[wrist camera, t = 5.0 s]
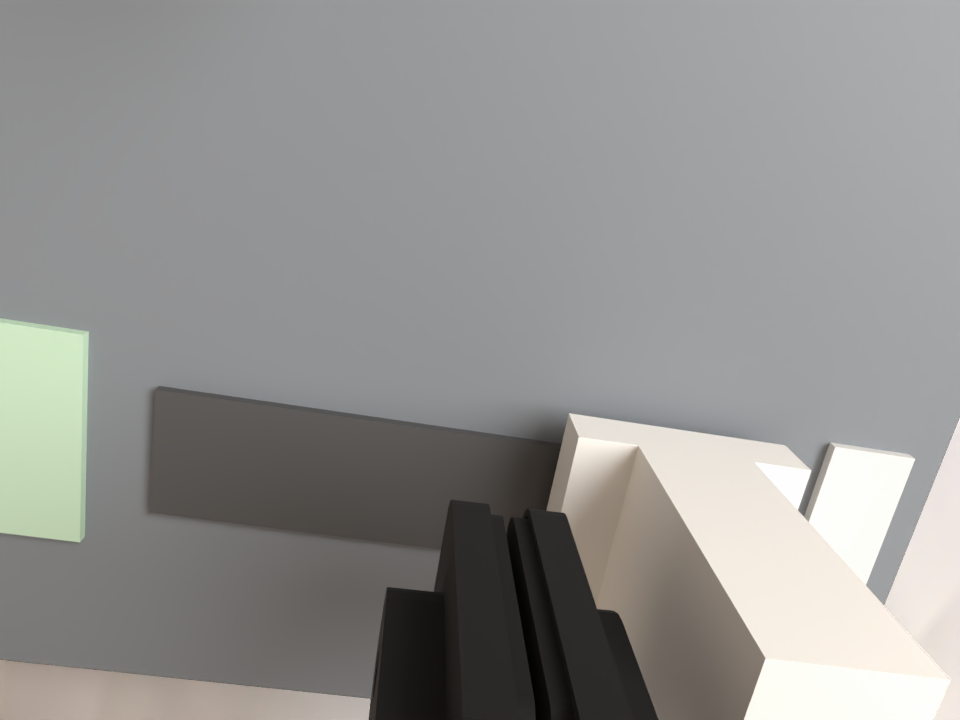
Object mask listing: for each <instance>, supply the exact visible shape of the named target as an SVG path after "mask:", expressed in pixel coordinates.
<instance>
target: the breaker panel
mask: <svg viewBox="0 0 960 720" xmlns="http://www.w3.org/2000/svg"><path fill="white" fill-rule="evenodd" d="M569 413H571V414H578V415H584V416H591V417H598V418H605V419H611V420H618V421H625V422H632V423H638V424H645V425H652V426H659V427H665V428H672V429H679V430H686V431H692V432H699V433H706V434H713V435H719V436H726V437H733V438H740V439H746V440H753V441H760V442H767V443H773V444H780V445H785V446H786V447H787V448H789V449H790V450H791V451H792V452H793V453H794V454H795V455H796V456H797V457H798V458H799V459H800V460H801V461H802V462H803V463H804V464H805V465H806V466H807V467H808V468H809V469H810V470H811V473H810V476H809V479H808V482H807V485H806V488H805V491H804V493H803V496H802V499H801V502H800V505H799V508H798V511H799V512H800V513H801V514H802V515H803V516H804V517H805V519H806V520H807V521H808V522H809V523H810V524H811V525H812V526H813V527H814V529H815V530H816V531H817V532H818V533H819V534H820V535H821V536H822V537H823V538H824V540H825V541H826V542H827V543H828V544H829V545H830V546H831V547H832V548H833V550H834V551H835V552H836V553H837V554H838V555H839V556H840V557H841V558H842V560H843V561H844V562H845V563H846V564H847V565H848V566H849V567H850V568H851V570H852V571H853V572H854V573H855V574H856V575H857V576H858V577H859V578H860V579H861V581H862V582H863V583H864V584H865V585H866V586H867V587H868V588H869V589H870V591H871V592H872V593H873V594H874V595H875V596H876V597H877V598H878V599H879V601H880V602H881V603H882V604H883V605H884V604H885V602H886V599H887V597H888V594H889V592H890V589H891V587H892V584H893V582H894V579H895V577H896V574H897V572H898V569H899V567H900V564H901V562H902V560H903V557H904V555H905V552H906V550H907V547H908V545H909V542H910V540H911V537H912V535H913V532H914V530H915V527H916V525H917V522H918V520H919V517H920V515H921V512H922V510H923V507H924V505H925V502H926V500H927V497H928V495H929V493H930V490H931V488H932V485H933V483H934V480H935V478H936V475H937V473H938V470H939V468H940V465H941V463H942V460H943V458H944V455H945V453H946V450H947V448H948V445H949V443H950V440H951V438H952V435H953V433H954V430H955V428H956V426H957V423H958V421H959V418H960V0H0V660H8V661H18V662H27V663H37V664H46V665H56V666H65V667H75V668H84V669H94V670H103V671H113V672H122V673H132V674H141V675H151V676H160V677H170V678H179V679H189V680H199V681H208V682H218V683H227V684H237V685H246V686H256V687H265V688H275V689H284V690H294V691H303V692H313V693H322V694H332V695H341V696H351V697H360V698H370V699H371V694H372V686H373V677H374V669H375V662H376V654H377V647H378V640H379V633H380V626H381V620H382V613H383V606H384V600H385V594H386V589H387V587H392V588H402V589H412V590H421V591H431V592H434V586H435V581H436V575H437V569H438V563H439V558H440V552H441V546H442V541H443V535H444V529H445V523H446V518H447V512H448V507H449V503H450V501H451V499H452V500H460V501H469V502H477V503H486V504H489V506H490V511H491V514H493V515H501V516H503V519H504V525H505V531H506V533H507V528H508V524H509V521H510V518H511V517H517V518H523V514H524V512H525V510H526V509H535V510H544V511H546V510H547V506H548V501H549V497H550V492H551V488H552V484H553V479H554V475H555V471H556V466H557V462H558V458H559V453H560V449H561V445H562V440H563V436H564V432H565V427H566V423H567V419H568V414H569Z"/></svg>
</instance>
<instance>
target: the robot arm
mask: <svg viewBox="0 0 960 720" xmlns="http://www.w3.org/2000/svg"><path fill="white" fill-rule="evenodd" d="M369 720H659V719H658V717H657V714H656V711H655V709H654V706H653V703H652V700H651V698H650V695H649V692H648V690H647V687H646V684H645V681H644V679H643V676H642V673H641V671H640V668H639V665H638V662H637V660H636V657H635V654H634V652H633V649H632V646H631V643H630V641H629V638H628V635H627V633H626V630H625V627H624V624H623V622H622V620H621V618H620V616H619V614H618V613H617V612H615V611H612V610H602V609H597V607H596V604H595V601H594V598H593V595H592V592H591V589H590V586H589V583H588V580H587V577H586V574H585V570H584V567H583V564H582V561H581V558H580V555H579V552H578V549H577V546H576V543H575V540H574V537H573V534H572V531H571V528H570V525H569V522H568V519H567V516H566V514H565V513H561V512H552V511H544V510H535V509H526V510H525V512H524V514H523V518H517V517H511V518H510V521H509V524H508V528H507V533H506V531H505V525H504V519H503V516H501V515H493V514H491V511H490V506H489V504H486V503H477V502H469V501H460V500H452V499H451V501H450V503H449V507H448V512H447V518H446V523H445V529H444V535H443V541H442V546H441V552H440V558H439V563H438V569H437V575H436V581H435V586H434V592H431V591H421V590H412V589H402V588H392V587H387V589H386V594H385V600H384V606H383V613H382V620H381V626H380V633H379V640H378V647H377V654H376V662H375V669H374V677H373V686H372V694H371V704H370V713H369Z"/></svg>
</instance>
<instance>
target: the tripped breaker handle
mask: <svg viewBox="0 0 960 720" xmlns="http://www.w3.org/2000/svg"><path fill="white" fill-rule="evenodd" d="M810 473H811V470H810V469H809V468H808V467H807V466H806V465H805V464H804V463H803V462H802V461H801V460H800V459H799V458H798V457H797V456H796V455H795V454H794V453H793V452H792V451H791V450H790V449H789V448H787V447H786V446H785V445H780V444H773V443H767V442H760V441H753V440H746V439H740V438H733V437H726V436H719V435H713V434H706V433H699V432H692V431H686V430H679V429H672V428H665V427H659V426H652V425H645V424H638V423H632V422H625V421H618V420H611V419H605V418H598V417H591V416H584V415H578V414H571V413H569V414H568V419H567V423H566V427H565V432H564V436H563V440H562V445H561V449H560V453H559V458H558V462H557V466H556V471H555V475H554V479H553V484H552V488H551V492H550V497H549V501H548V506H547V510H546V511H552V512H561V513H565V514H566V516H567V519H568V522H569V525H570V528H571V531H572V534H573V537H574V540H575V543H576V546H577V549H578V552H579V555H580V558H581V561H582V564H583V567H584V570H585V574H586V577H587V580H588V583H589V586H590V589H591V592H592V595H593V598H594V601H595V604H596V607H597V609H602V610H612V611H615V612H617V613H618V614H619V616H620V618H621V620H622V622H623V624H624V627H625V630H626V633H627V635H628V638H629V641H630V643H631V646H632V649H633V652H634V654H635V657H636V660H637V662H638V665H639V668H640V671H641V673H642V676H643V679H644V681H645V684H646V687H647V690H648V692H649V695H650V698H651V700H652V703H653V706H654V709H655V711H656V714H657V717H658V719H659V720H933V719H934V717H935V715H936V712H937V710H938V708H939V706H940V704H941V701H942V699H943V697H944V695H945V693H946V690H947V688H948V686H949V684H950V681H951V679H950V678H949V677H948V676H947V675H946V674H945V673H944V671H943V670H942V669H941V668H940V667H939V666H938V665H937V664H936V663H935V661H934V660H933V659H932V658H931V657H930V656H929V655H928V654H927V653H926V651H925V650H924V649H923V648H922V647H921V646H920V645H919V644H918V643H917V642H916V640H915V639H914V638H913V637H912V636H911V635H910V634H909V633H908V632H907V630H906V629H905V628H904V627H903V626H902V625H901V624H900V623H899V622H898V620H897V619H896V618H895V617H894V616H893V615H892V614H891V613H890V612H889V610H888V609H887V608H886V607H885V606H884V605H883V604H882V603H881V602H880V601H879V599H878V598H877V597H876V596H875V595H874V594H873V593H872V592H871V591H870V589H869V588H868V587H867V586H866V585H865V584H864V583H863V582H862V581H861V579H860V578H859V577H858V576H857V575H856V574H855V573H854V572H853V571H852V570H851V568H850V567H849V566H848V565H847V564H846V563H845V562H844V561H843V560H842V558H841V557H840V556H839V555H838V554H837V553H836V552H835V551H834V550H833V548H832V547H831V546H830V545H829V544H828V543H827V542H826V541H825V540H824V538H823V537H822V536H821V535H820V534H819V533H818V532H817V531H816V530H815V529H814V527H813V526H812V525H811V524H810V523H809V522H808V521H807V520H806V519H805V517H804V516H803V515H802V514H801V513H800V512H799V511H798V508H799V505H800V502H801V499H802V496H803V493H804V491H805V488H806V485H807V482H808V479H809V476H810Z"/></svg>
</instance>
